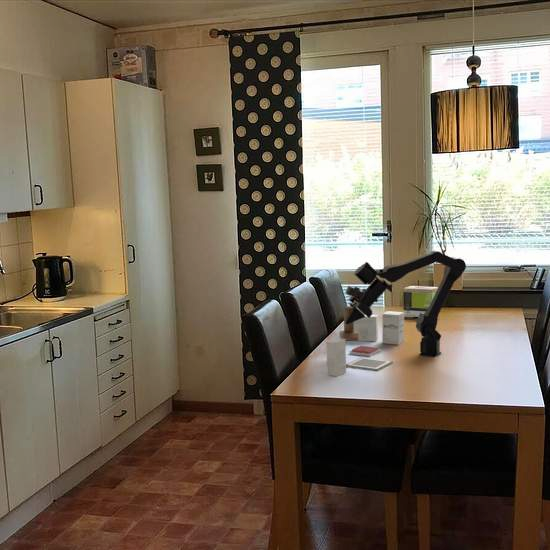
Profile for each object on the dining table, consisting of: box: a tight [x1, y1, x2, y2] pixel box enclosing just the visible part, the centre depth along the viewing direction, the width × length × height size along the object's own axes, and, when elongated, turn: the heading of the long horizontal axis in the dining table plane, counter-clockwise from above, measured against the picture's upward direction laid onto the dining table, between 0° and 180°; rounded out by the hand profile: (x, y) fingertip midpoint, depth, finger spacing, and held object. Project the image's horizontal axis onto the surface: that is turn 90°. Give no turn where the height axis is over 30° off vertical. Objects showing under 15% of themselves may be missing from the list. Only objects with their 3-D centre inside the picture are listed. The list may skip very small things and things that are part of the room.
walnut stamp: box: [339, 305, 359, 342], centre depth 263 cm, size 6×6×12 cm
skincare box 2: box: [353, 314, 379, 342], centre depth 295 cm, size 10×6×10 cm, turn 74°
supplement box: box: [381, 310, 405, 346], centre depth 287 cm, size 7×7×13 cm
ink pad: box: [348, 345, 381, 358], centre depth 271 cm, size 9×9×2 cm
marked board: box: [346, 357, 394, 372], centre depth 253 cm, size 13×13×1 cm
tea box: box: [402, 285, 439, 318], centre depth 342 cm, size 15×10×15 cm, turn 58°
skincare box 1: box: [325, 337, 347, 377], centre depth 241 cm, size 6×4×12 cm
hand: (345, 322), depth 263 cm, fingers closed on walnut stamp, 4 cm apart
